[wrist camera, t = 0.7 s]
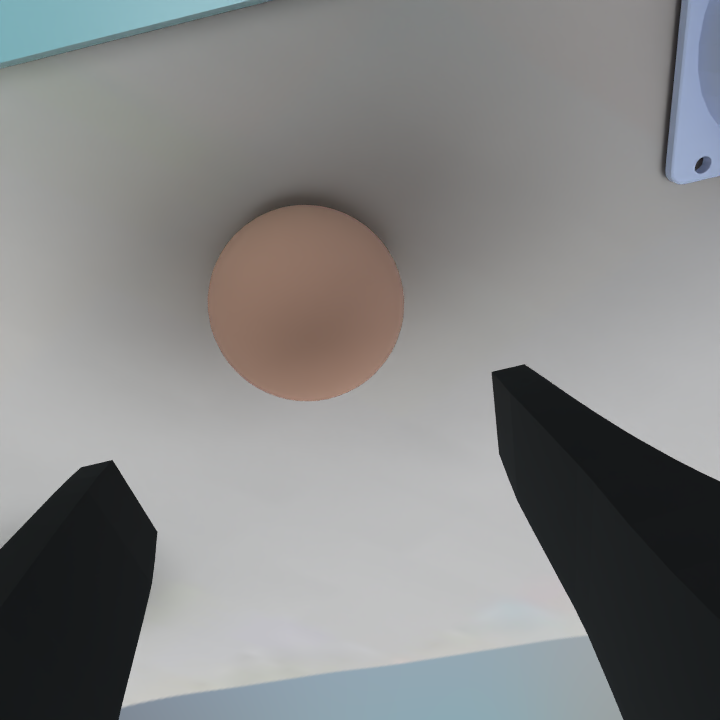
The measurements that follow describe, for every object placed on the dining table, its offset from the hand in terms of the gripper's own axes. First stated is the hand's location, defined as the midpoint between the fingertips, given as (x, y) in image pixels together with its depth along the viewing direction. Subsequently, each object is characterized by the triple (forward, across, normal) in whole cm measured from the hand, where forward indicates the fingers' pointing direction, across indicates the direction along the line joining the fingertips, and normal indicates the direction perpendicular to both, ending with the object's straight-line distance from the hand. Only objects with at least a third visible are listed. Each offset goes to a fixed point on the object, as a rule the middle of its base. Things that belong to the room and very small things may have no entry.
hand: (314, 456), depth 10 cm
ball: (+9, 0, 0) cm, 9 cm away
